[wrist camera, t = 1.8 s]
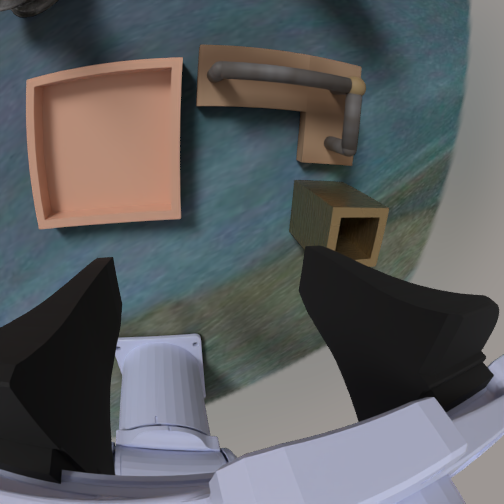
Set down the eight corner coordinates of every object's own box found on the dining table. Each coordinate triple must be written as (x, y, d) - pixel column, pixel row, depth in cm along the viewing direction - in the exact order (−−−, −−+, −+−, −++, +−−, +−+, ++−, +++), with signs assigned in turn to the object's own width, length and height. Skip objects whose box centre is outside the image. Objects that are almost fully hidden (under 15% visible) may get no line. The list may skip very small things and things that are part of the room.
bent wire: (345, 163, 21) (376, 176, 18) (194, 158, 19) (199, 171, 15) (354, 67, 18) (388, 64, 14) (199, 47, 15) (204, 32, 12)
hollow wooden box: (335, 229, 24) (375, 266, 19) (289, 231, 23) (322, 271, 18) (342, 181, 22) (389, 208, 17) (294, 180, 21) (333, 207, 16)
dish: (180, 209, 20) (180, 218, 19) (48, 219, 18) (39, 229, 16) (182, 62, 16) (182, 57, 14) (38, 81, 13) (26, 79, 12)
